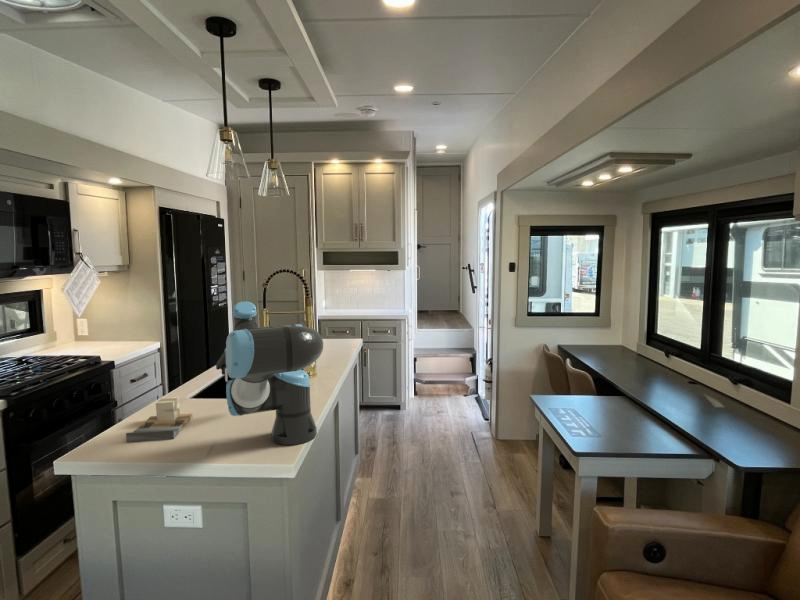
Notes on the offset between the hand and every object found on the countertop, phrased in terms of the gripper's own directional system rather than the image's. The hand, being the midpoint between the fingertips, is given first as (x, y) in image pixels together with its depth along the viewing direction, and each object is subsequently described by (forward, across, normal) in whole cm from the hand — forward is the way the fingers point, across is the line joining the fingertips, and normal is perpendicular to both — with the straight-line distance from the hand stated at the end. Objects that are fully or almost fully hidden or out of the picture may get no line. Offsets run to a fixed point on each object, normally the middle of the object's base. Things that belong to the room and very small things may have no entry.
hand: (245, 376), depth 173 cm
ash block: (+14, +28, +4) cm, 31 cm away
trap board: (+11, +30, +10) cm, 33 cm away
